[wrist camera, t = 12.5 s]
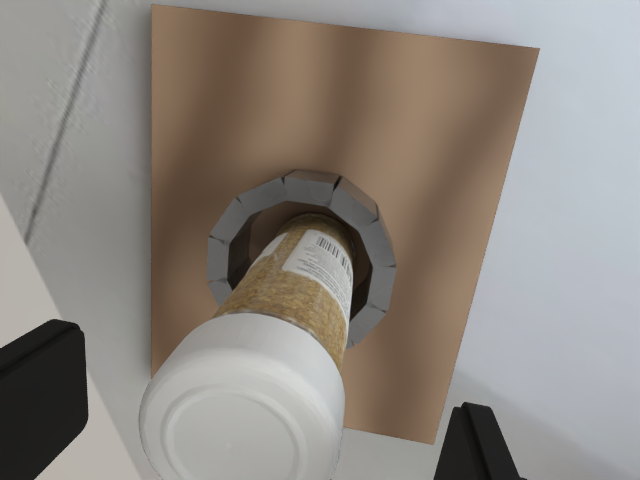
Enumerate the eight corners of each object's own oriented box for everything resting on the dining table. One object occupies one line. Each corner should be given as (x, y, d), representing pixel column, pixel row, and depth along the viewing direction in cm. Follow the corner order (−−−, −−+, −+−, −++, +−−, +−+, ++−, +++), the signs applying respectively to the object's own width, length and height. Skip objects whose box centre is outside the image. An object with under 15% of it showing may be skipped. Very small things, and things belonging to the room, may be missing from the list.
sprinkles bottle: (262, 226, 21) (92, 383, 8) (342, 199, 20) (292, 329, 7) (292, 300, 22) (183, 544, 9) (369, 278, 21) (369, 516, 8)
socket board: (526, 54, 18) (540, 48, 17) (429, 426, 25) (433, 444, 23) (167, 12, 20) (151, 4, 18) (163, 374, 26) (151, 389, 25)
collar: (403, 183, 19) (411, 195, 16) (374, 334, 22) (375, 371, 19) (237, 159, 20) (211, 165, 17) (228, 308, 23) (203, 339, 19)
